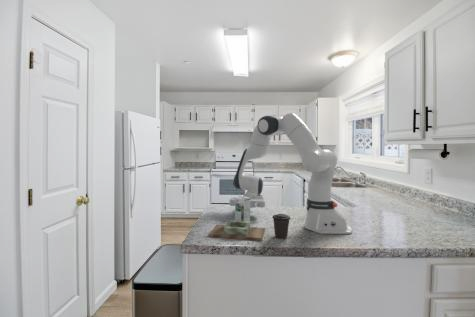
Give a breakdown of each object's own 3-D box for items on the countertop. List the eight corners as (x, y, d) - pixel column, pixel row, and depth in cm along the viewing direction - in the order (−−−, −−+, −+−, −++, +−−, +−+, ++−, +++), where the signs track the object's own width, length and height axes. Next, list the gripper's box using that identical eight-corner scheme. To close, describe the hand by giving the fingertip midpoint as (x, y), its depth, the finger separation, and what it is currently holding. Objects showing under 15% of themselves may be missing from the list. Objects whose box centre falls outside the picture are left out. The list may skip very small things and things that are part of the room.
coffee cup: (276, 240, 116) (276, 218, 116) (269, 234, 124) (269, 213, 124) (293, 238, 119) (293, 216, 118) (285, 232, 126) (285, 212, 126)
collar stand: (264, 230, 130) (264, 221, 130) (261, 240, 116) (261, 231, 116) (216, 227, 134) (216, 218, 134) (208, 236, 121) (208, 227, 120)
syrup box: (234, 225, 138) (234, 197, 137) (242, 222, 142) (242, 195, 141) (242, 227, 134) (242, 198, 133) (250, 225, 138) (250, 197, 137)
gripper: (232, 194, 161) (226, 198, 147) (266, 195, 157) (264, 200, 143) (231, 204, 161) (226, 210, 147) (266, 206, 157) (263, 212, 144)
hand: (245, 205), depth 145 cm, fingers open, 8 cm apart
